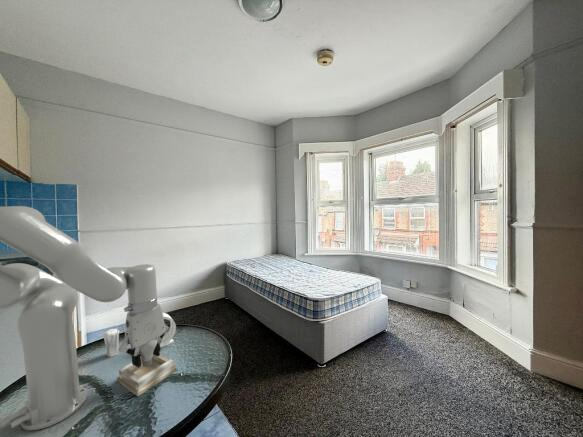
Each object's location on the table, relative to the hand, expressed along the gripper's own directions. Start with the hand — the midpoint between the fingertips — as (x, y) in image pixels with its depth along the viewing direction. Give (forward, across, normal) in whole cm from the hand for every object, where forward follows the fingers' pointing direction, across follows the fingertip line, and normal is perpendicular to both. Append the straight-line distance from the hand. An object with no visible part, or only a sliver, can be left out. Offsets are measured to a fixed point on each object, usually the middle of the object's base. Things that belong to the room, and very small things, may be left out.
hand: (146, 359), depth 75 cm
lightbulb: (+3, 0, 0) cm, 3 cm away
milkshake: (+5, 0, +22) cm, 23 cm away
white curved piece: (+6, +14, +12) cm, 19 cm away
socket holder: (+5, 0, 0) cm, 5 cm away
